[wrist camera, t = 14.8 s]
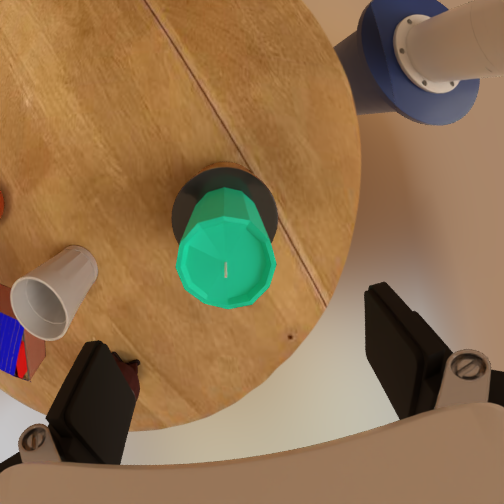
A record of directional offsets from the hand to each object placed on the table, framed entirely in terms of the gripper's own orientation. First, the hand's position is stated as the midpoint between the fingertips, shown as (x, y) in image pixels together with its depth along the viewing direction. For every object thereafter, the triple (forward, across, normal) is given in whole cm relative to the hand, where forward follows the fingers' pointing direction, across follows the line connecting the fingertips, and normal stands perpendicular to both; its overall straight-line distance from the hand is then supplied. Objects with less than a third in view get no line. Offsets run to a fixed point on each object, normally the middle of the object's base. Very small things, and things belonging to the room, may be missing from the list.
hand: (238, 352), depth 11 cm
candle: (+20, +1, 0) cm, 20 cm away
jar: (+30, +1, +1) cm, 30 cm away
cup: (+29, +23, +5) cm, 38 cm away
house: (+29, +43, +8) cm, 53 cm away
